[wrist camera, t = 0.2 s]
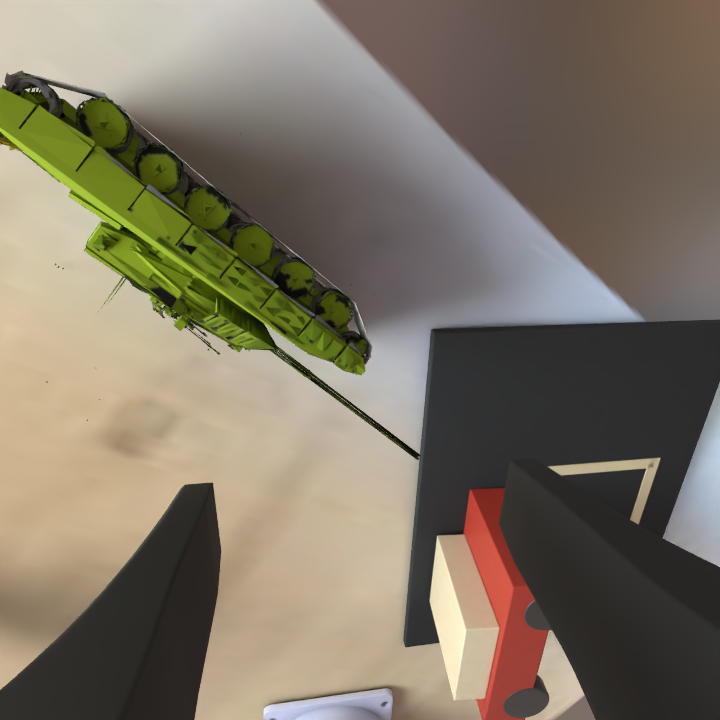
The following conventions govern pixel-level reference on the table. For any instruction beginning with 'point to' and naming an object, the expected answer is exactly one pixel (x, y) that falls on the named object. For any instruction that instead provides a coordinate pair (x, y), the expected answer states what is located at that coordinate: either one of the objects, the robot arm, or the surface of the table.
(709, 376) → the mat
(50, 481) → the table surface
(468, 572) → the toy car
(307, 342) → the toy tank
